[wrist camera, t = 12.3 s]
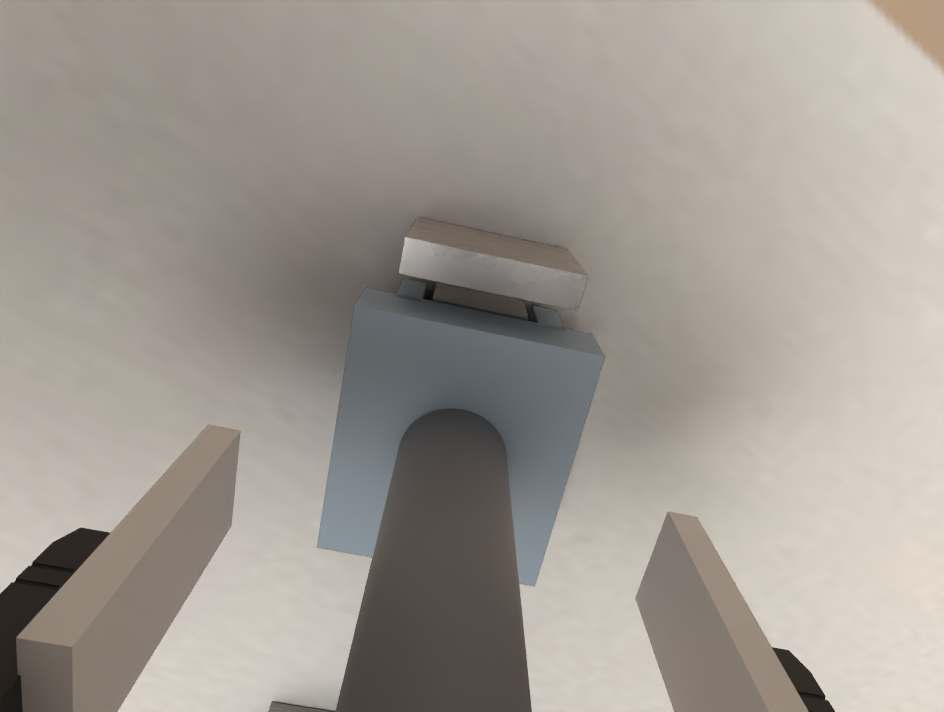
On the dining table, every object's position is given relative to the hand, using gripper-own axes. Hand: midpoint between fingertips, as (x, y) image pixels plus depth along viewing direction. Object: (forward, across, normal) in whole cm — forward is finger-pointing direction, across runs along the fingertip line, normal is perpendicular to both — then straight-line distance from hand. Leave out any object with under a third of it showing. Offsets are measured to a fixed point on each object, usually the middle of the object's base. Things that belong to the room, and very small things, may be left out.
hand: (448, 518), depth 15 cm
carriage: (+7, 0, 0) cm, 7 cm away
